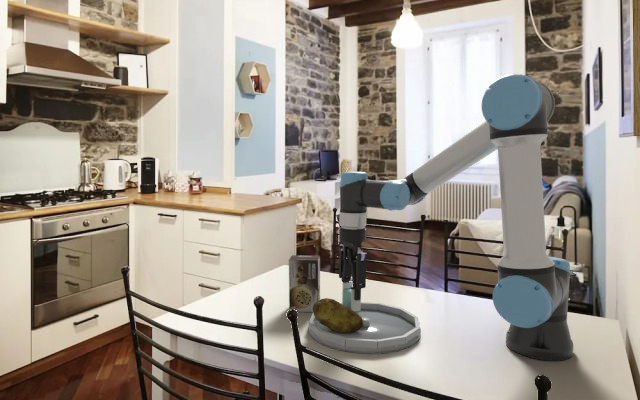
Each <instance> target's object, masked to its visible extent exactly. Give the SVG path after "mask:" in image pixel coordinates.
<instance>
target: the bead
mask: <svg viewBox="0 0 640 400" xmlns="http://www.w3.org/2000/svg"><path fill="white" fill-rule="evenodd" d="M342 291H343V305H344V306H346V307H347V308H349V309H351V288H345V289H343V288H342ZM355 312H356V313H359V312H360V311H355Z"/></svg>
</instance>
